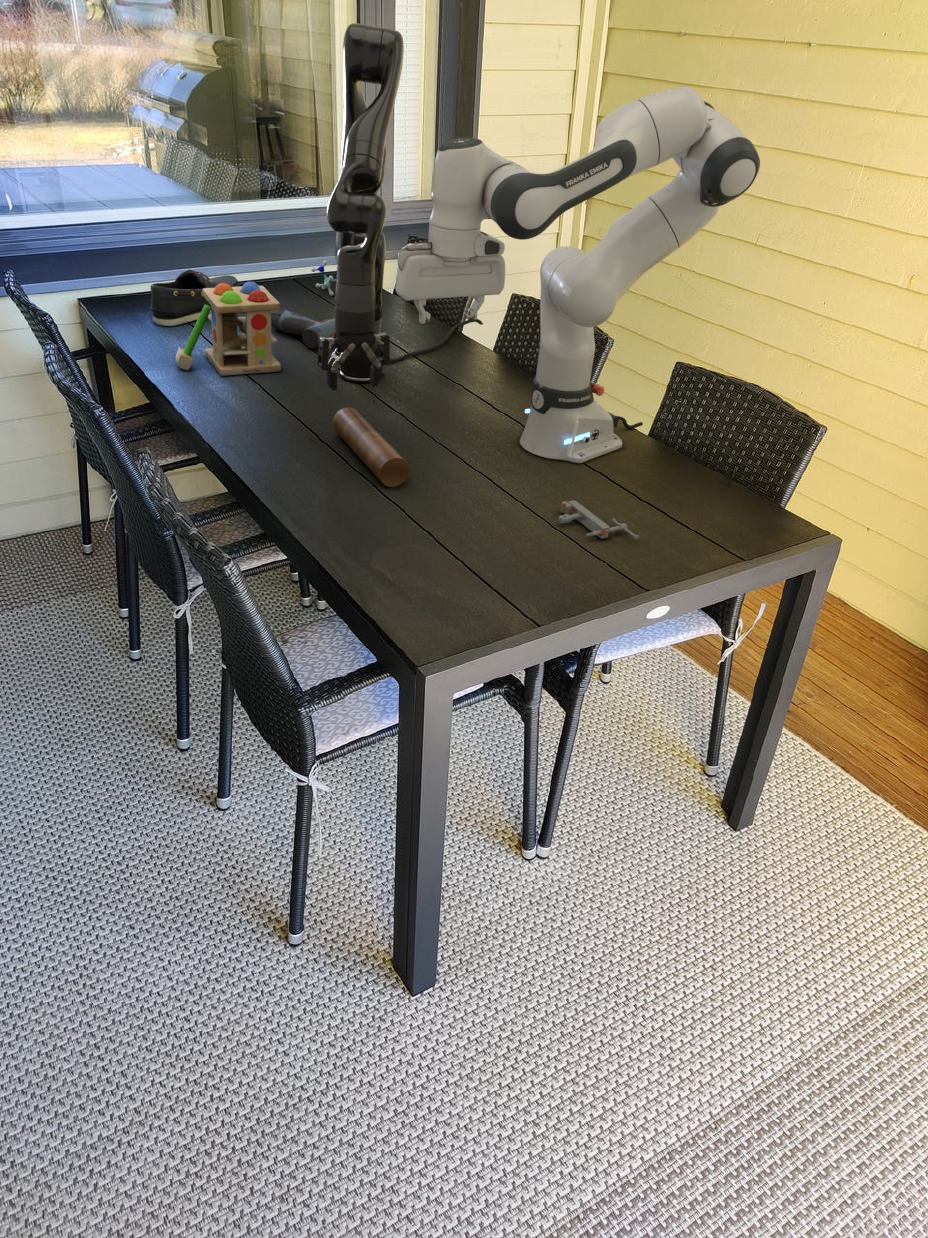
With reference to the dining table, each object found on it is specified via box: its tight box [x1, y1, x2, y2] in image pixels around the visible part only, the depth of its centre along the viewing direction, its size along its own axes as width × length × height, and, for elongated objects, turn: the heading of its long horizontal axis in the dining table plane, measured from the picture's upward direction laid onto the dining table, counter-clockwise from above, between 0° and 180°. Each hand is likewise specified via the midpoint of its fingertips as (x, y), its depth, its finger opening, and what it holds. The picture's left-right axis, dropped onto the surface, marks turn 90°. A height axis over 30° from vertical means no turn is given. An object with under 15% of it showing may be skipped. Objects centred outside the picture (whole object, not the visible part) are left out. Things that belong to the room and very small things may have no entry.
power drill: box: [271, 308, 335, 349], centre depth 252 cm, size 5×19×20 cm
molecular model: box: [310, 260, 337, 297], centre depth 283 cm, size 12×10×10 cm
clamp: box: [558, 499, 640, 541], centre depth 178 cm, size 15×2×10 cm
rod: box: [332, 406, 410, 488], centre depth 193 cm, size 25×6×6 cm, turn 27°
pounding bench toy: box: [174, 281, 282, 377], centre depth 225 cm, size 23×14×18 cm, turn 116°
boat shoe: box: [149, 269, 241, 327], centre depth 259 cm, size 13×33×10 cm, turn 147°
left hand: (353, 387), depth 195 cm, fingers open, 8 cm apart
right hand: (447, 321), depth 177 cm, fingers open, 8 cm apart
